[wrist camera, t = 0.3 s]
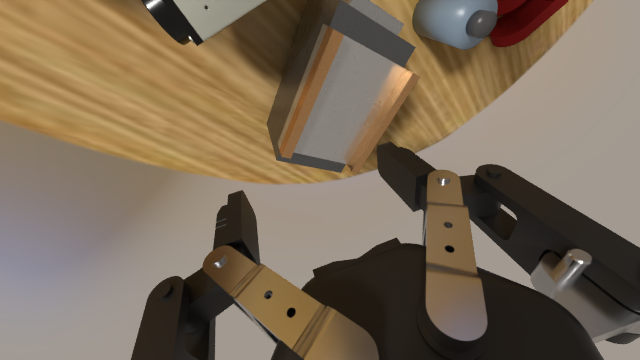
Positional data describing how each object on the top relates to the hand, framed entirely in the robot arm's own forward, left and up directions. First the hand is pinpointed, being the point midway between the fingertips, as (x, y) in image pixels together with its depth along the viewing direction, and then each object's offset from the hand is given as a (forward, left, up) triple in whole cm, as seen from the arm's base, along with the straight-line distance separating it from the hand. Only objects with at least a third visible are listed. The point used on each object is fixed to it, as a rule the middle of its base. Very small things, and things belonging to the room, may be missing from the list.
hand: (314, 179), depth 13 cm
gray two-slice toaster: (-1, +6, -23) cm, 24 cm away
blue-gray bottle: (-14, +18, -23) cm, 32 cm away
